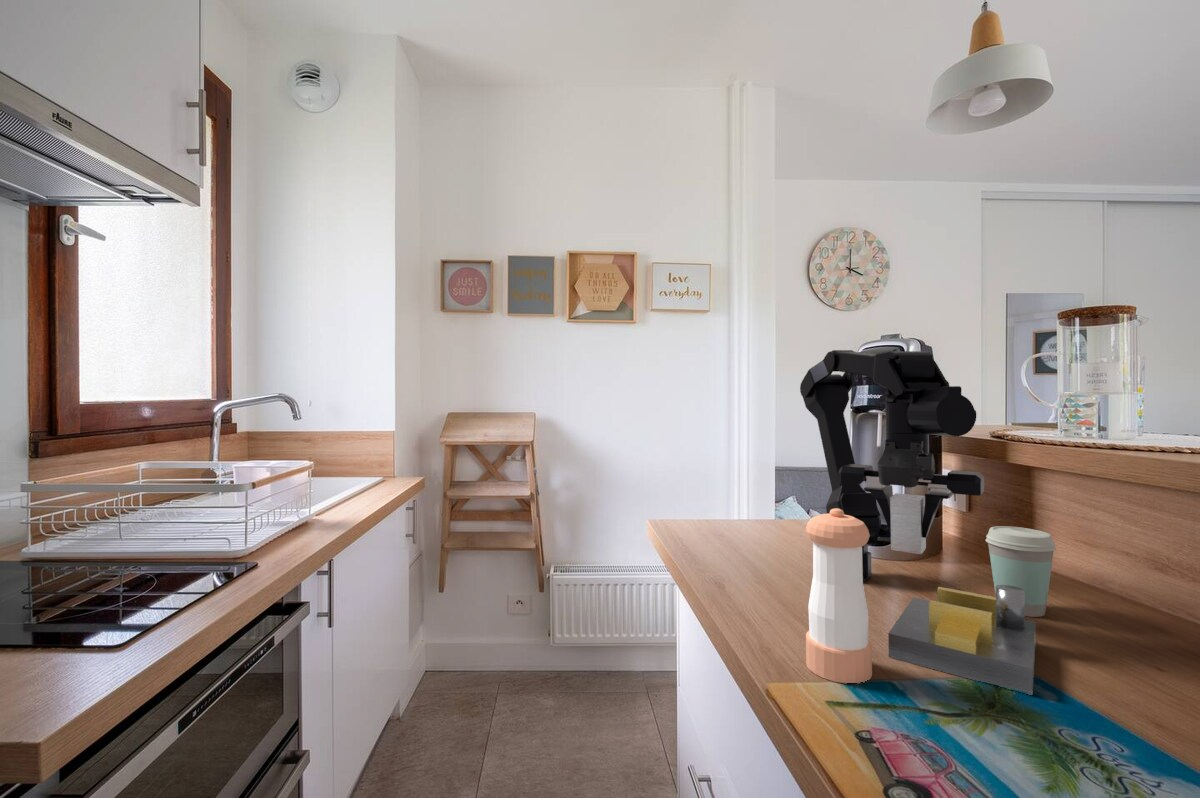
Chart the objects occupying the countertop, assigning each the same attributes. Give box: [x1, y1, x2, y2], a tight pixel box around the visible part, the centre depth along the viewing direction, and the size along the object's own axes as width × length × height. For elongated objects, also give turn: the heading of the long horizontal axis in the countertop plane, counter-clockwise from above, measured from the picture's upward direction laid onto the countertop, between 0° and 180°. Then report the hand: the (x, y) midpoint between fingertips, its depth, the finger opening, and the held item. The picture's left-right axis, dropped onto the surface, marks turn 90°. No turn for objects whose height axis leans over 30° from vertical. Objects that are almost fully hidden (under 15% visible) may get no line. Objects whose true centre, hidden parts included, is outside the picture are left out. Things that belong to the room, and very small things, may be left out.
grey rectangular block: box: [890, 492, 927, 555], centre depth 81 cm, size 4×4×8 cm
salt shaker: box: [805, 508, 873, 684], centre depth 64 cm, size 7×7×19 cm
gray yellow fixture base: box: [887, 585, 1036, 696], centre depth 68 cm, size 14×16×8 cm
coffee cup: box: [985, 525, 1057, 618], centre depth 82 cm, size 8×9×12 cm
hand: (908, 535), depth 81 cm, fingers closed on grey rectangular block, 4 cm apart
